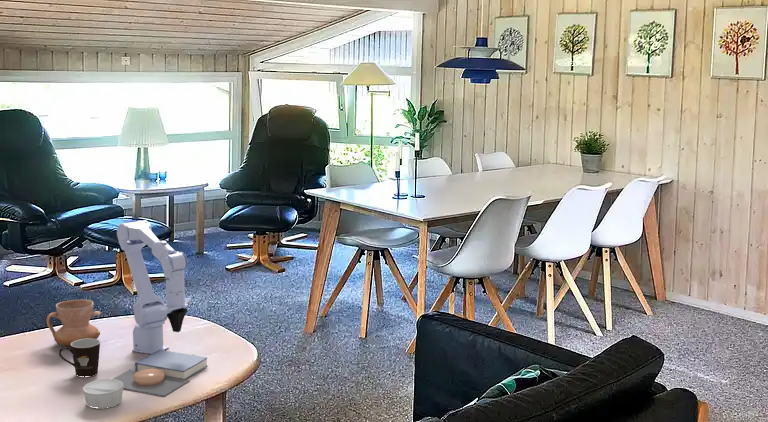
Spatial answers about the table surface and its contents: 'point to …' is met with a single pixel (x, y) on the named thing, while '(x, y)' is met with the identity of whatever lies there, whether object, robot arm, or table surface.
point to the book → (173, 363)
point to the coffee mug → (84, 356)
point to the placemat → (159, 389)
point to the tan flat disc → (149, 377)
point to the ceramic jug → (74, 321)
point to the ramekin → (103, 393)
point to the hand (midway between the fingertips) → (176, 331)
